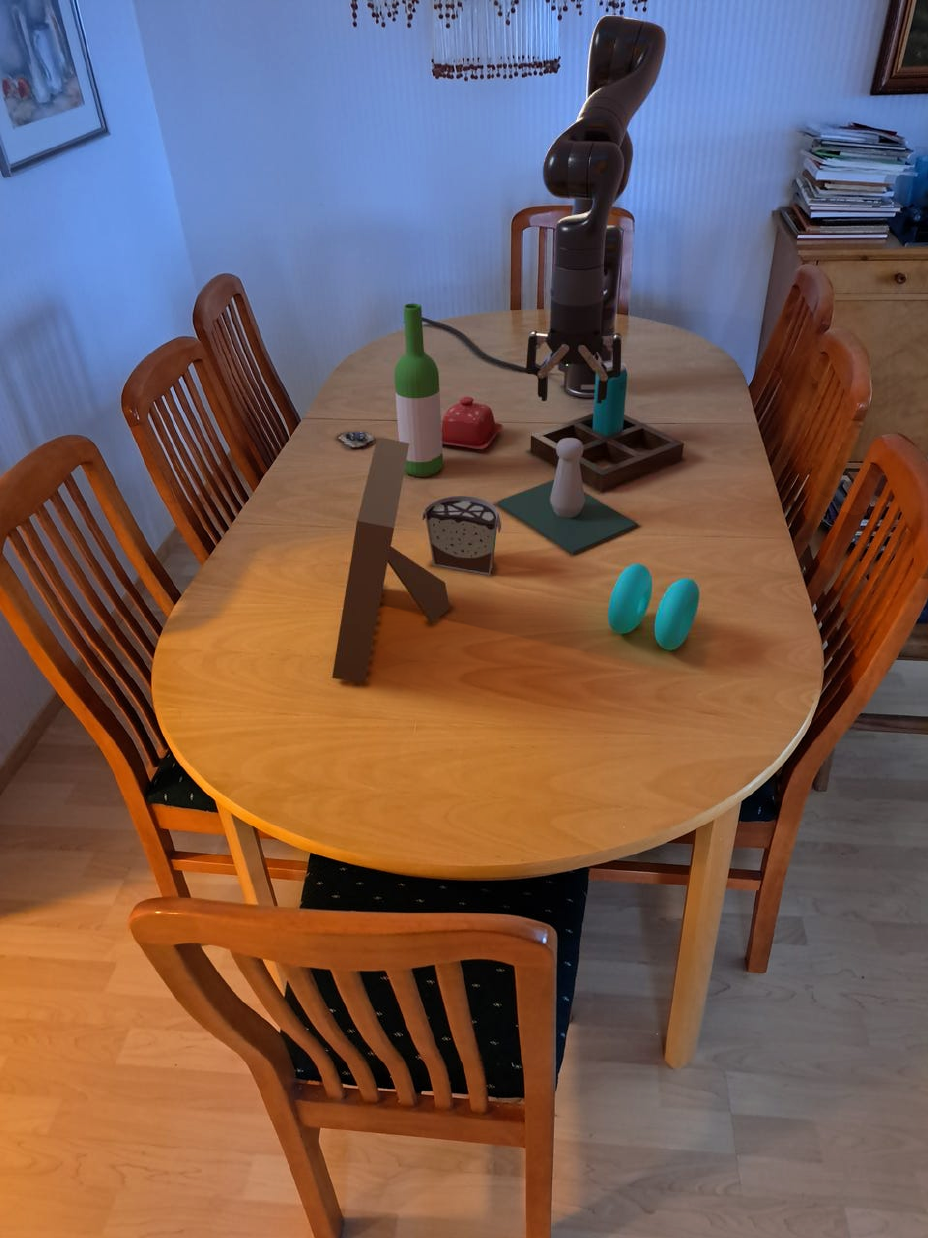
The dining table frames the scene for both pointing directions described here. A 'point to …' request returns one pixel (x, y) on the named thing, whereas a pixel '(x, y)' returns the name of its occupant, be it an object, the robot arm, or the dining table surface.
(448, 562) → the food container
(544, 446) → the stand
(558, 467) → the salt shaker
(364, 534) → the photo frame
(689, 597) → the donuts
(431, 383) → the wine bottle
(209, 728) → the dining table surface
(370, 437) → the blueberries
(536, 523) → the placemat
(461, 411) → the butter dish
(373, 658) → the dining table surface
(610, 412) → the beverage can
